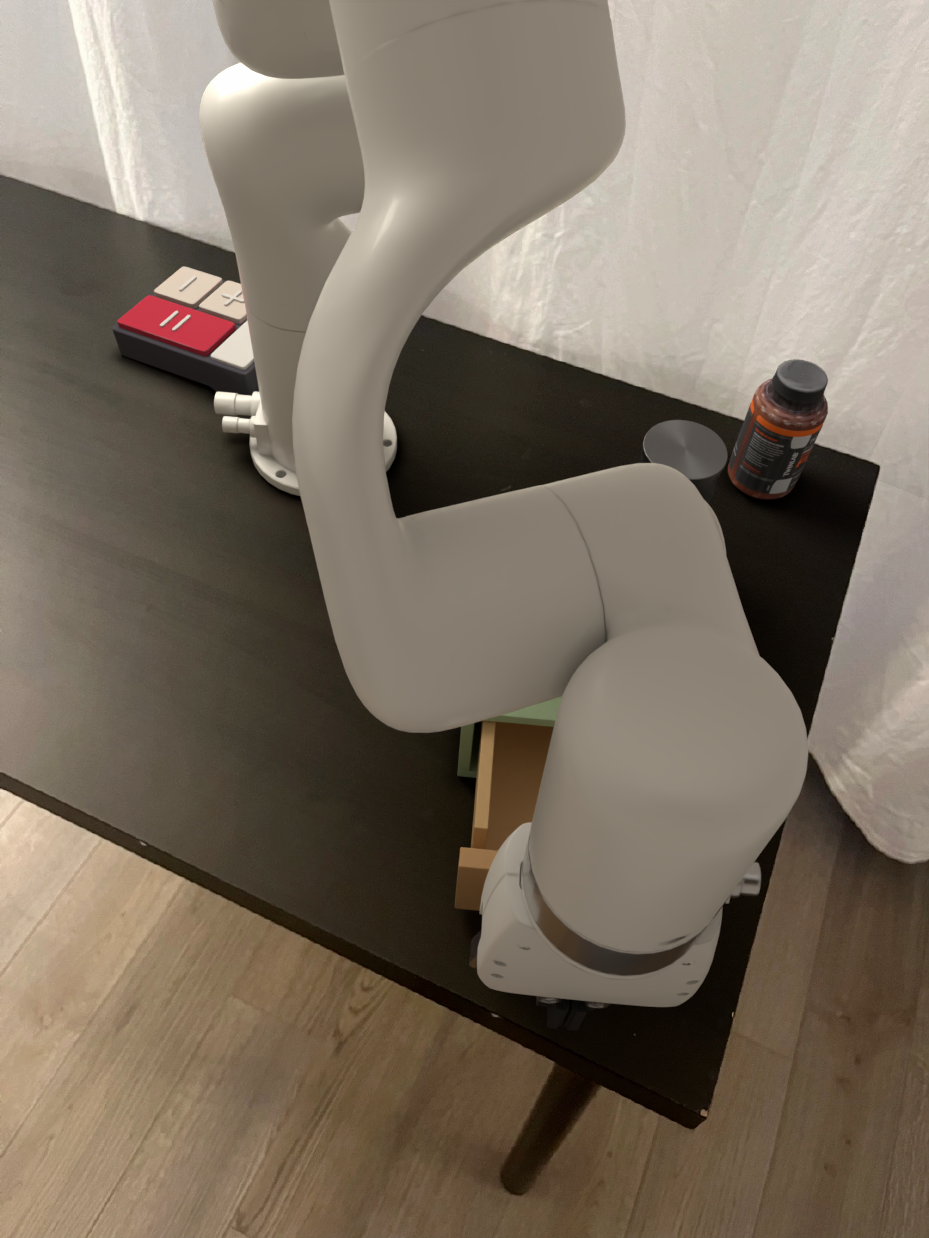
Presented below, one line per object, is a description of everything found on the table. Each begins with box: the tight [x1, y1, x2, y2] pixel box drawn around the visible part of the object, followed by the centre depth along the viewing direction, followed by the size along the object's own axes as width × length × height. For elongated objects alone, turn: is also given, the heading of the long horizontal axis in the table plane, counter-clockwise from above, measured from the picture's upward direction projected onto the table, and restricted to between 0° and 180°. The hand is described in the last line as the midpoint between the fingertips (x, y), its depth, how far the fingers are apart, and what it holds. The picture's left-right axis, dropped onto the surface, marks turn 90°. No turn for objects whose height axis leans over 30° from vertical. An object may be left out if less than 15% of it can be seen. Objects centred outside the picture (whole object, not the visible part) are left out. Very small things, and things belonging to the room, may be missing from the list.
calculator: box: [111, 266, 259, 396], centre depth 89 cm, size 11×4×15 cm
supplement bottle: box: [727, 358, 829, 501], centre depth 79 cm, size 6×6×11 cm
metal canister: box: [638, 419, 728, 505], centre depth 72 cm, size 6×6×12 cm
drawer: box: [454, 720, 554, 912], centre depth 59 cm, size 19×12×7 cm, turn 175°
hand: (562, 999), depth 52 cm, fingers closed
